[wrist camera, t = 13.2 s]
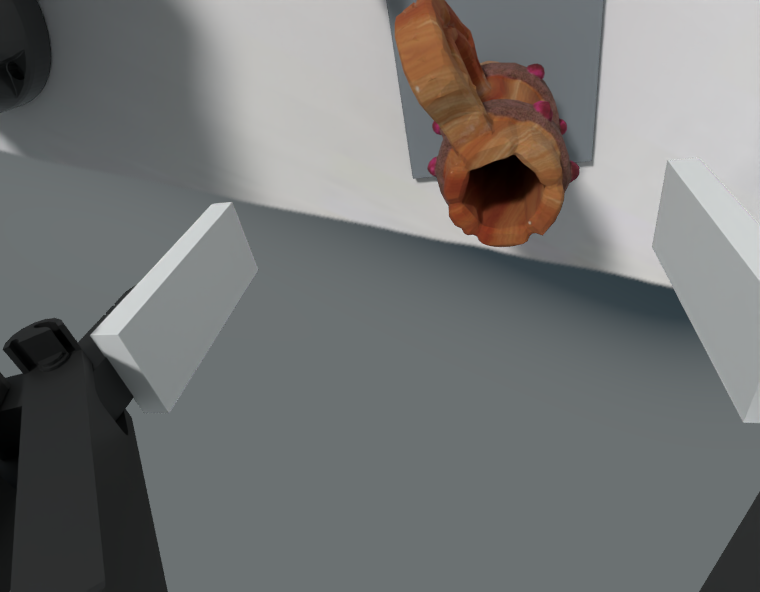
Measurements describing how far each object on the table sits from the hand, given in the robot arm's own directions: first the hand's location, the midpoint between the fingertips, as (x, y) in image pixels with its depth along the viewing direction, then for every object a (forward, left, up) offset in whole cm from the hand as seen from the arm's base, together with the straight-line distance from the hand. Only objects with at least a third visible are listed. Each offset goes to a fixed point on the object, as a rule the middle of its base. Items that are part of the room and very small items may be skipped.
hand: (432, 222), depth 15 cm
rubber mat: (+2, -2, -26) cm, 26 cm away
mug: (+1, -2, -25) cm, 25 cm away
